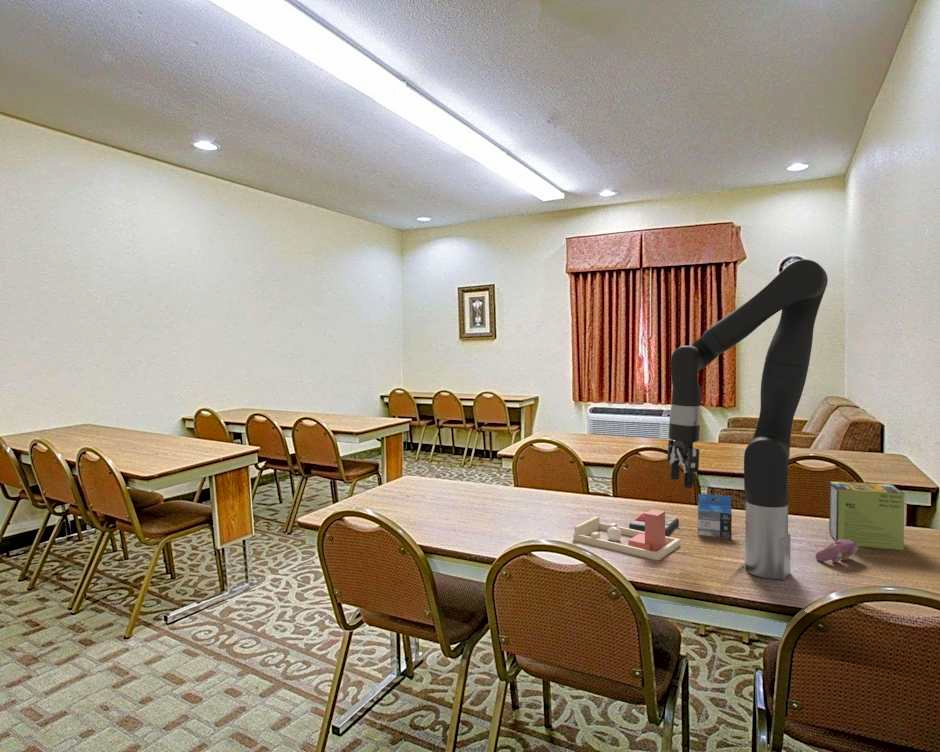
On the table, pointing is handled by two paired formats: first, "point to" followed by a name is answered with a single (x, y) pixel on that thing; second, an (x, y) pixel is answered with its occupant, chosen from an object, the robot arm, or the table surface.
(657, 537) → the block
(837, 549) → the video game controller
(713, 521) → the label tape cartridge
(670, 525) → the calculator
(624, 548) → the pitch
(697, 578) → the table surface
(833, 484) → the protein box
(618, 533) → the ball
